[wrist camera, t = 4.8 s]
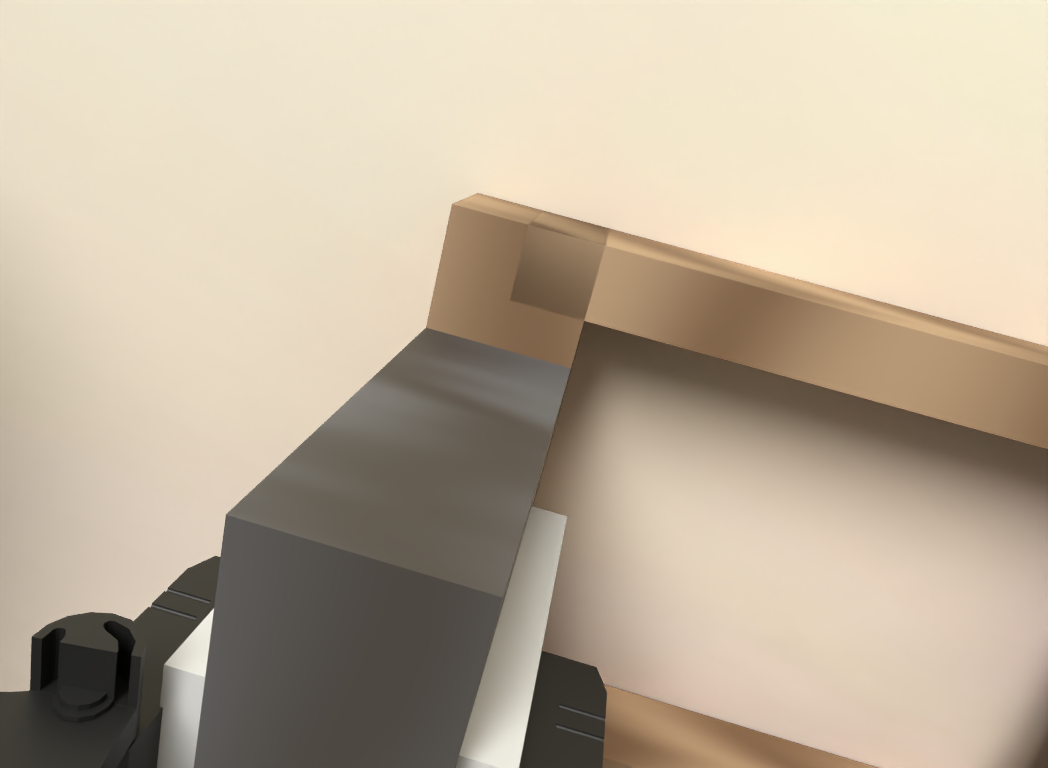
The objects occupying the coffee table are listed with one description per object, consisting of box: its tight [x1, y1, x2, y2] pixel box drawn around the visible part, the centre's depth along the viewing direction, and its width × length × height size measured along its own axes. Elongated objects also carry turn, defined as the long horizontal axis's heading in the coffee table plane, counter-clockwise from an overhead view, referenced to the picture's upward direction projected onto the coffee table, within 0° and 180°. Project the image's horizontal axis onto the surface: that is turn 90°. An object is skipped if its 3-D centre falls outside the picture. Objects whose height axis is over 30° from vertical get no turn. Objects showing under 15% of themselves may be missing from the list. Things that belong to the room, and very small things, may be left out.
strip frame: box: [194, 193, 1048, 768], centre depth 14 cm, size 24×13×10 cm, turn 76°
